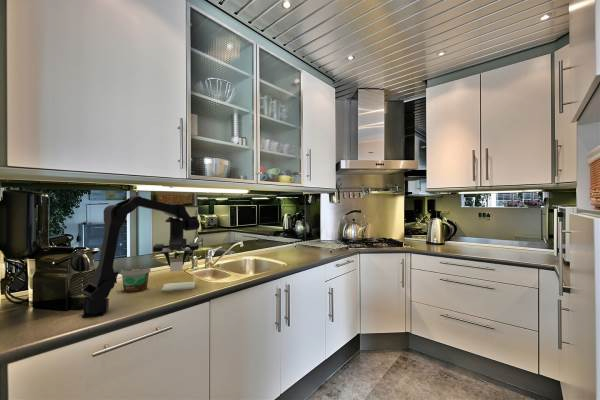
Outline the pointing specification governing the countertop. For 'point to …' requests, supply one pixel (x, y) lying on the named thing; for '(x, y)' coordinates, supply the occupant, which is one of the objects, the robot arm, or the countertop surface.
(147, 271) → the food container
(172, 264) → the card deck
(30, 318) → the countertop surface
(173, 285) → the sage mat
